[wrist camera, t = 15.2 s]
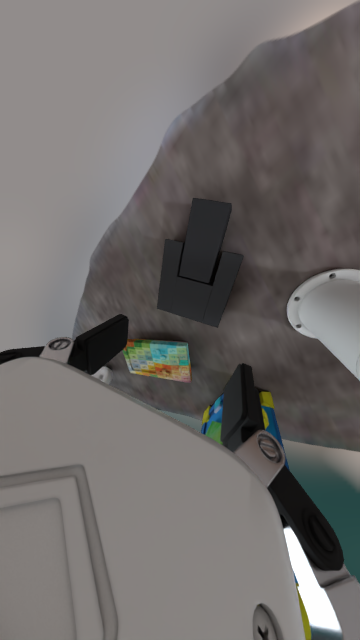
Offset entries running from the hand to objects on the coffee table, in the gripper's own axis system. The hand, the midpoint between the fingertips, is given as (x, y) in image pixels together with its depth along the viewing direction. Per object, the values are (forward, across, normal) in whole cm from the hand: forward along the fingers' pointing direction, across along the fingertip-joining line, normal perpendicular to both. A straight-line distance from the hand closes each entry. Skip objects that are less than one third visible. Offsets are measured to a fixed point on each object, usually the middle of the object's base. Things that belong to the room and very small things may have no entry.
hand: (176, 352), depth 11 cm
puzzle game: (+23, +9, +23) cm, 33 cm away
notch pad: (+23, +4, 0) cm, 23 cm away
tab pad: (+23, +4, -8) cm, 24 cm away
